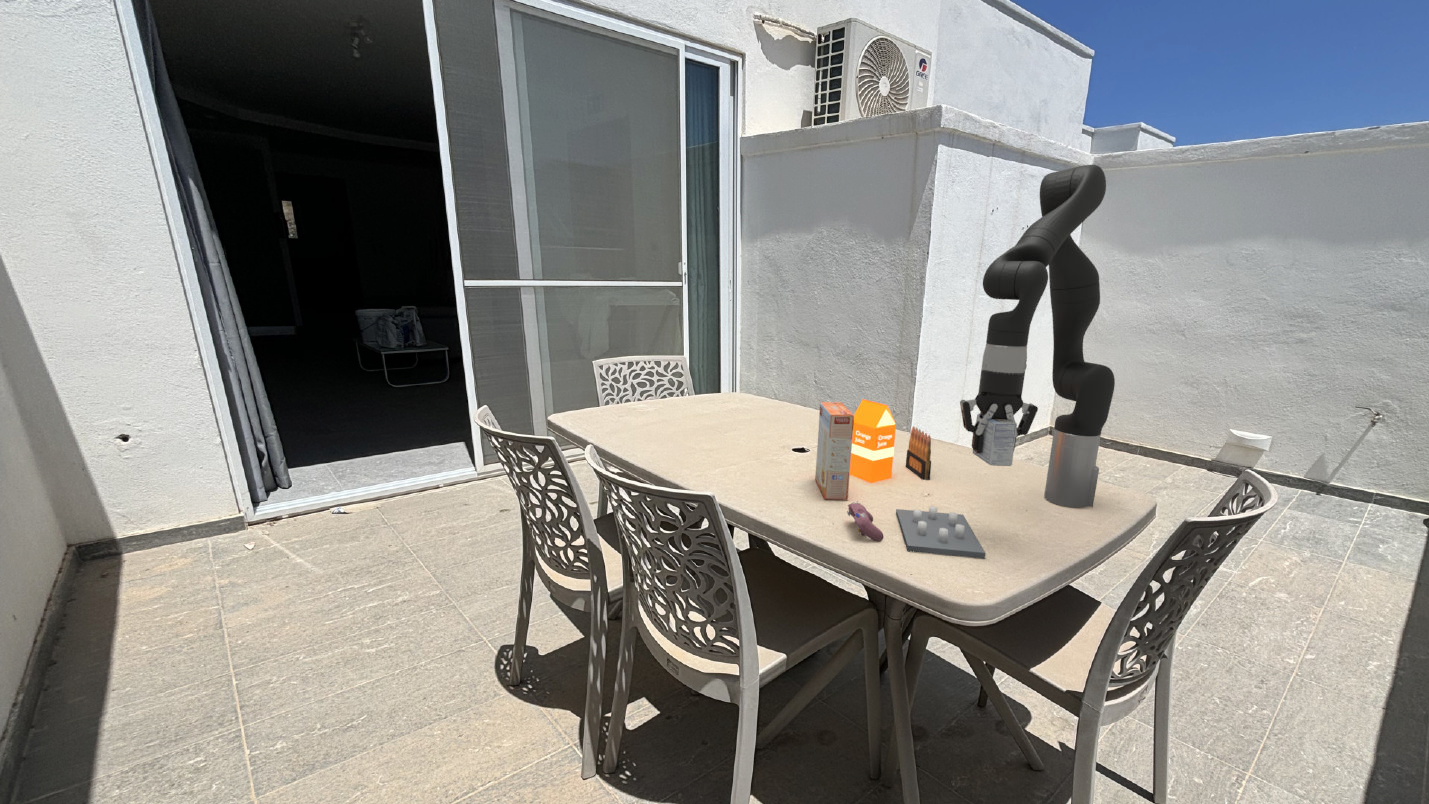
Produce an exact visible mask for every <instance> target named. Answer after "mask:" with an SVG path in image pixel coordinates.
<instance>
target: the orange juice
mask: <svg viewBox="0 0 1429 804" xmlns="http://www.w3.org/2000/svg"><path fill="white" fill-rule="evenodd" d="M853 415H854V426H853V437H852V450H851V463H850V475H849V476H853V477H856V478H858V479H861V480H863V481H865V482H868V483H870V484H872V483H873V484H874V483H876V482H877V483H878V482H881V481H885V480H889V479H892V477H893V476H892V474H893V462H894V456H895V455H894V453H895V441H896V432H897V431H896V429H897V424H896V422H895V419H894V417H893V415H892V412H891V410H890V408H889V405H888V404H885V403H884V404H883V403H879V402H876V401H872V400H867V399H864V398H863V399H862V400H861V402H860V404H859V405H858V407H857V409H856V411H855V412H854V414H853Z"/></svg>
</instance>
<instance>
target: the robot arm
mask: <svg viewBox="0 0 1429 804" xmlns="http://www.w3.org/2000/svg"><path fill="white" fill-rule="evenodd" d="M1106 179H1107V178H1106V175H1105V172H1104V170H1103V169H1102V167H1100V166H1099V165H1097V164H1085V165H1080V166H1075V167H1070V168H1066V169H1063V170H1058V171H1054V172H1049V173H1048V174H1046V175H1045V176H1043V178H1042V180H1041V182H1040V185H1039V205H1040V212H1041V217H1040V218H1039V219H1037V220H1036V221H1035V222H1033V223H1032V224H1031V225H1029V227H1028V228H1027V229H1026V230H1025V231H1024V233H1022V236H1021V237H1020V238H1019V239H1018V241H1017V243H1016V244H1015V245H1014V246H1013V247H1011V248H1009V249H1008V250H1006V251H1005V252H1004V253H1003V254H1000V256H998V257H997V258H996V259H995V260H993V262H991V263H990V265H989V266H987V269H986V271H985V273H984V275H983V278H982V288H983V291H984V293H985V294H986V295H987V296H988V297H989V298H991V299H995V300H1013V301H1018V303H1017V304H1016V306H1015V307H1014V308H1013V309H1012V310H1009V311H1003V312H996V313H994V314H992V315H991V316H990V317H989V320H988V324H987V325H988V326H987V334H986V342H985V347H984V350H983V356H982V361H981V370H980V378H979V385H978V393H977V395H976V397H975V398H974V399H968V400H966V399H961V400H960V401H959V404H960V411H961V412H960V413H961V418H962V425H963V428H964V429H965V430H966V431H967V432H968V433H969V432H971V433H972V440H971V448H972V451H973V450H974V451H975V452H976V453H981V447H982V440H983V436H982V433H983V431H984V429H985V427H986V426H987V425H988V423H989V420H991V419H1007V420H1012V421H1014V422H1016V420H1015V415H1016V414H1017V413H1018V412H1019V411H1020V410H1021V413H1022V416H1021V419H1020V421H1019V423H1018V424H1017V429H1016V437H1015V445H1014V451H1015V448H1016V442H1017V438H1018V437H1020V436H1022V435H1023V436H1026V435H1028V433H1029V431H1030V429H1031V426H1032V425H1033V422H1034V420H1035V417H1036V415H1037V412H1038V410H1039V407H1038V406H1037V405H1035V404H1033V403H1027V402H1024V400H1023V399H1022V394H1023V389H1024V383H1025V382H1024V381H1025V375H1026V369H1027V366H1028V365H1027V360H1028V342H1029V335H1030V329H1031V323H1032V321H1033V318H1034V316H1035V313H1036V310H1037V307H1038V305H1039V302H1040V300H1041V298H1042V297H1043V295H1044V293H1045V291H1046V287H1047V285H1048V282H1049V295H1050V296H1049V297H1050V305H1051V306H1050V307H1051V314H1052V315H1051V316H1052V335H1053V340H1052V341H1053V352H1052V354H1053V355H1052V373H1051V375H1052V376H1051V378H1052V386H1053V389H1054V391H1055V393H1056V394H1057V396H1059V397H1060V398H1062V399H1065V400H1068V401H1072V402H1075V404H1074V407H1073V411H1072V412H1071V413H1069V414H1061V415H1058V416H1057V417H1056V418H1055V422H1054V428H1053V433H1052V442H1051V448H1050V455H1049V461H1048V468H1047V474H1046V475H1047V476H1046V483H1045V487H1044V496H1043V497H1044V499H1045V500H1046V501H1048V502H1050V503H1052V504H1055V505H1059V506H1062V507H1065V508H1067V507H1068V508H1072V509H1073V508H1074V509H1081V508H1084V507H1085V508H1088V507H1089V508H1092V507H1094V503H1095V496H1096V492H1097V491H1096V490H1097V485H1098V479H1099V473H1100V468H1099V466H1097V461H1098V452H1099V447H1100V442H1101V435H1102V431H1103V428H1104V426H1105V424H1106V422H1107V421H1108V417H1109V413H1110V407H1111V404H1112V400H1113V396H1114V392H1115V387H1116V386H1115V385H1116V381H1115V380H1116V378H1115V375H1114V372H1113V371H1112V369H1111V368H1110V367H1109V366H1106V365H1103V364H1099V363H1094V362H1088V361H1085V359H1084V358H1085V357H1084V338H1085V335H1086V332H1087V330H1088V328H1089V326H1090V325H1091V324H1092V322H1093V320H1094V318H1095V316H1096V314H1097V312H1098V310H1099V307H1100V304H1101V287H1100V275H1099V272H1098V270H1097V268H1096V266H1095V264H1094V263H1093V262H1092V261H1091V259H1090V258H1089V257H1088V256H1087V255H1086V253H1085V252H1084V251H1083V250H1082V249H1081V248H1080V247H1079V246H1078V245H1077V244H1076V242H1075V239H1074V238H1073V237H1072V235H1071V234H1072V233H1073V232H1074V231H1075V230H1077V228H1078V227H1080V226H1081V225H1082V224H1083V223H1084V222H1085V221H1086V220H1087V219H1088V217H1090V216H1091V215H1092V214H1093V213H1094V212H1095V211H1096V210H1097V209H1098V208H1099V207H1100V205H1101V204H1102V202H1103V200H1104V199H1105V195H1106V191H1107V180H1106ZM1047 268H1048V269H1047ZM975 406H976V407H977V409H978V411H980V412H979V413H978V414H979V416H978V418H977V417H976V419H977V421H975V423H974V424H973V419H972V413H971V412H973V411H974V408H975ZM982 415H983V416H984V417H983V416H982Z"/></svg>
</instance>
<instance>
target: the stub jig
mask: <svg viewBox="0 0 1429 804" xmlns="http://www.w3.org/2000/svg"><path fill="white" fill-rule="evenodd" d="M895 516H896V519H897V524H898V525H899V529H900V532H901V536H902V539H903V542H904V545H906V546H905V548H906V552H910V551H912V552H913V551H914V552H913V553H922V554H930V553H932V554H933V555H940V556H941V555H942V556H954V557H965V558H973V559H985V560H986V554H987V553H986V551H985V549H984V547H983V546H982V544H981V543H980V541H979V539H978V538H977V536H976V534H975V533H974V530H973V529H972V528H971V525H970V524H969V522H968V520H967V518H966V517H965V515H964V514H959V513H956V512H953V511H952V512H949V513H946V512H938V507H936V506H934V505H932V506H929V507H928V511H924V510H923V511H922V509H917V508H916V509H914V510H913V509H911V510H910V509H899V508H896V509H895Z"/></svg>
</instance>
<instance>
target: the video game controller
mask: <svg viewBox="0 0 1429 804" xmlns="http://www.w3.org/2000/svg"><path fill="white" fill-rule="evenodd" d="M847 507H848V510H847V511H846V513H847V515H848V516H849V517H850V516H851V517H852V518H853V519H854V522H855V525H856V527H857V528H858V529H857V532H858V533H860V534H861V536H862V537H863V536H866V537H867V538H869V539H871V540H873V541H875V542H881V541H883V539H884V533H883V531H882V530H881V529H880V528H878V527H877V526H876V525H875V524H873V521H874V517H873V514H871V513H870V512H869V510H867V508H866V507H865V505H863V504H861V502H860V503H859V502H858V501H856V502H851V503H848V504H847Z"/></svg>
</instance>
